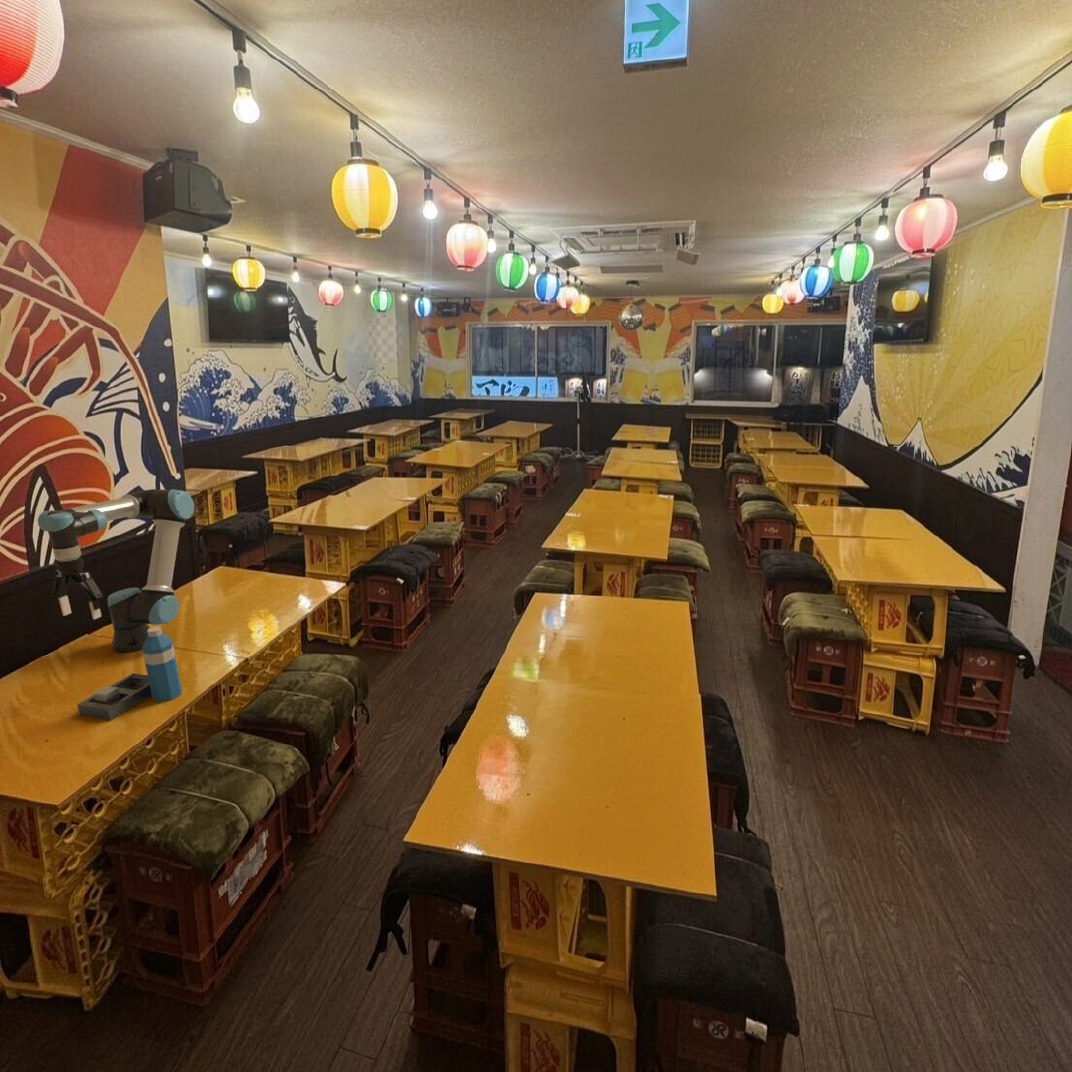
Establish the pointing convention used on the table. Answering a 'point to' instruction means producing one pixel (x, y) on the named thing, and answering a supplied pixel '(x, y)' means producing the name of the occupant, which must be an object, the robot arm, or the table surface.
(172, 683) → the water bottle
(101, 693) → the brushed gray brick
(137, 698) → the grey compartment tray
